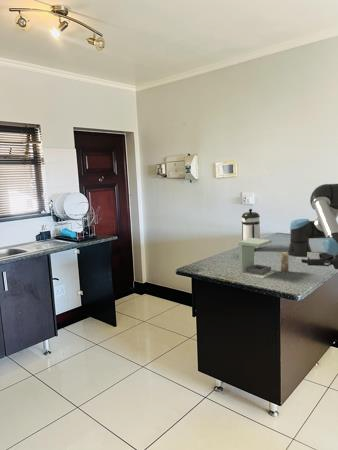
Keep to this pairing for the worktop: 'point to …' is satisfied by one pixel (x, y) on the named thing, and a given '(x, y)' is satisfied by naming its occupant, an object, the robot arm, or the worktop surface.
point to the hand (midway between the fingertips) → (301, 256)
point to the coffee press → (250, 226)
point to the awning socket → (252, 258)
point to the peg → (284, 262)
